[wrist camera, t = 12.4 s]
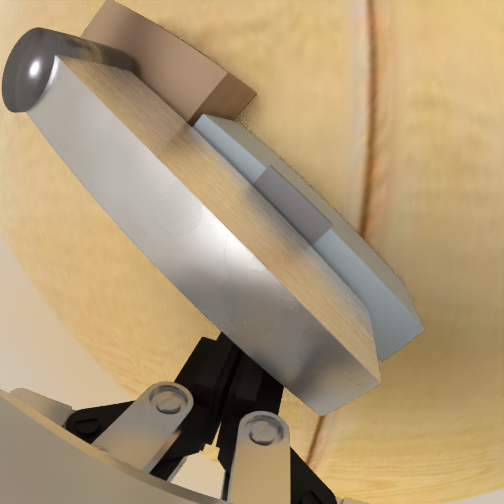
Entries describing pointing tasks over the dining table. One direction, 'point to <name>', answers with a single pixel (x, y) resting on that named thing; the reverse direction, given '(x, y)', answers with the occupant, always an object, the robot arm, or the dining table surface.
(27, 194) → the dining table surface
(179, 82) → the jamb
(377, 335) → the grey rectangular block
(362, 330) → the bar
